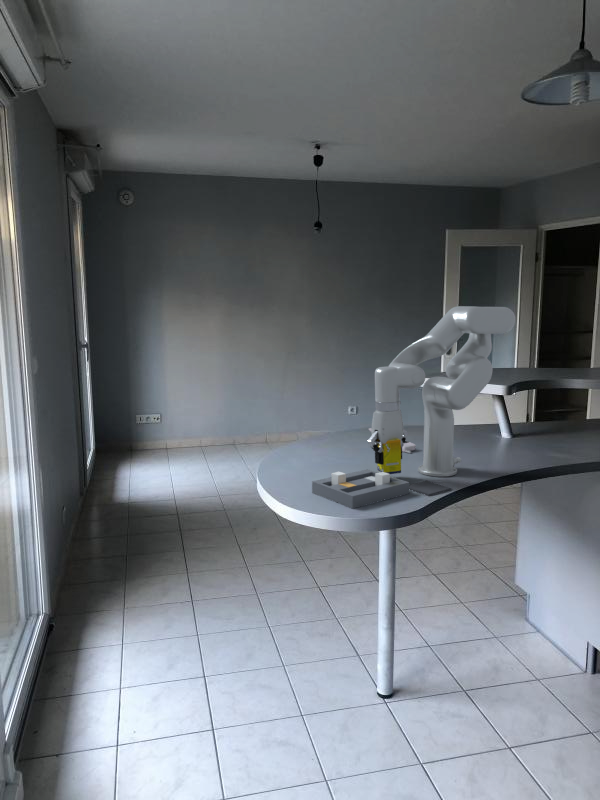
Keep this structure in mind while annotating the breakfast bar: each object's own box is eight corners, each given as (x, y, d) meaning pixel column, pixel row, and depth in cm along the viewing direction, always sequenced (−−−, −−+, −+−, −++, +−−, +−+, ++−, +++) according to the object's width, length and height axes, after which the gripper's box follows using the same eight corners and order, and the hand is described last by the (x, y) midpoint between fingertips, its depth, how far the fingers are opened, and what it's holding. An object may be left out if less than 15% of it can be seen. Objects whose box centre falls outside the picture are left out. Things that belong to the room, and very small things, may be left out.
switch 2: (382, 483, 186) (382, 471, 186) (389, 486, 184) (389, 473, 183) (375, 485, 184) (375, 473, 184) (382, 488, 182) (382, 475, 182)
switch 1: (339, 483, 187) (339, 471, 186) (345, 485, 184) (345, 473, 184) (331, 485, 185) (331, 473, 184) (338, 487, 183) (338, 475, 182)
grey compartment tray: (367, 480, 198) (367, 469, 198) (408, 493, 184) (409, 481, 184) (312, 492, 185) (312, 481, 185) (352, 508, 171) (352, 495, 171)
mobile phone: (378, 426, 255) (420, 437, 234) (378, 440, 256) (420, 452, 235) (366, 428, 252) (408, 439, 231) (366, 442, 253) (408, 454, 232)
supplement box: (376, 470, 201) (376, 437, 199) (394, 468, 203) (393, 435, 201) (383, 475, 196) (382, 441, 194) (401, 473, 197) (401, 439, 195)
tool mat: (426, 482, 196) (426, 480, 196) (451, 489, 188) (451, 487, 188) (403, 488, 190) (403, 486, 190) (428, 496, 182) (428, 494, 182)
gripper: (398, 401, 203) (399, 453, 207) (358, 409, 193) (360, 464, 196) (415, 403, 198) (416, 458, 201) (375, 412, 187) (376, 469, 191)
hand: (388, 460), depth 199 cm, fingers closed on supplement box, 7 cm apart
